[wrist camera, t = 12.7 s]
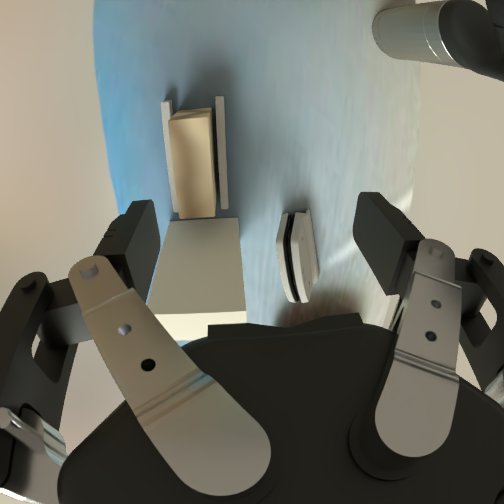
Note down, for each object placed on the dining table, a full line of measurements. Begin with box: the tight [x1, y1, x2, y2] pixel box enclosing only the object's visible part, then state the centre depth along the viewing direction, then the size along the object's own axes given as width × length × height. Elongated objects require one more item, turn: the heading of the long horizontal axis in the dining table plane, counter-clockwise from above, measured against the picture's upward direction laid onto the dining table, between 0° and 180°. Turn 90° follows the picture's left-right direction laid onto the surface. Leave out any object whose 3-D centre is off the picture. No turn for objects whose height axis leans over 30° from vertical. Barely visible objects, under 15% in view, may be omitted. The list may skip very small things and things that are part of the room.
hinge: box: [276, 209, 319, 303], centre depth 54 cm, size 17×5×10 cm, turn 14°
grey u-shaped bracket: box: [147, 96, 247, 340], centre depth 38 cm, size 12×26×22 cm, turn 0°
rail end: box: [168, 108, 216, 219], centre depth 41 cm, size 5×15×9 cm, turn 1°
